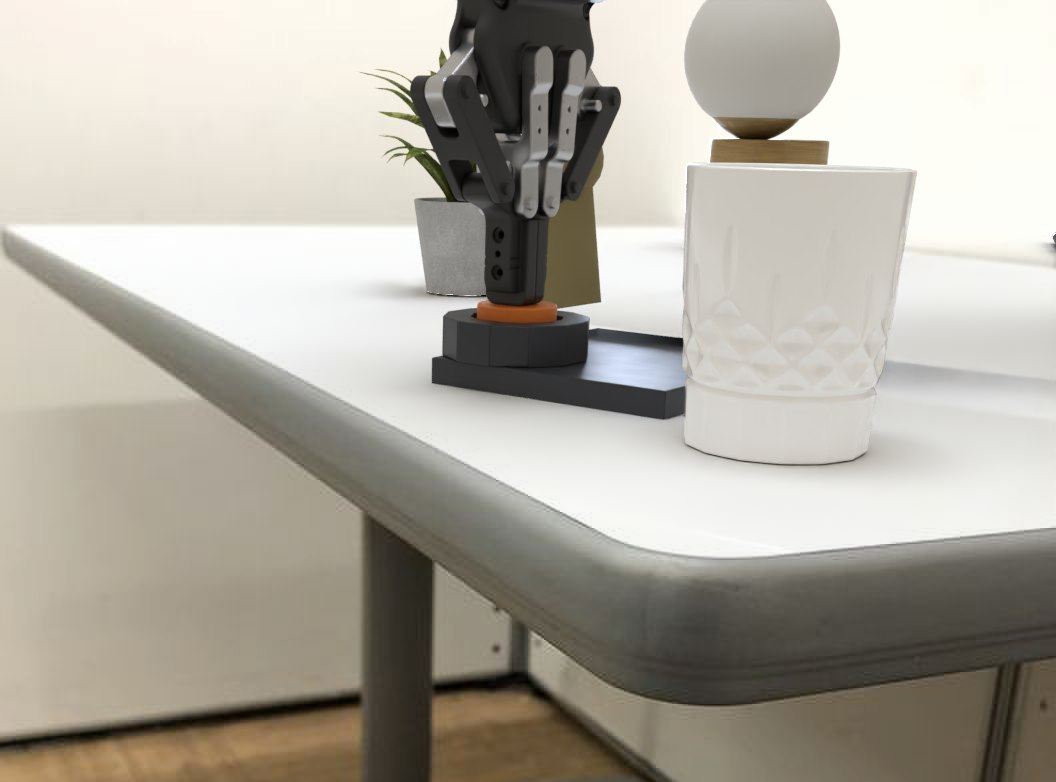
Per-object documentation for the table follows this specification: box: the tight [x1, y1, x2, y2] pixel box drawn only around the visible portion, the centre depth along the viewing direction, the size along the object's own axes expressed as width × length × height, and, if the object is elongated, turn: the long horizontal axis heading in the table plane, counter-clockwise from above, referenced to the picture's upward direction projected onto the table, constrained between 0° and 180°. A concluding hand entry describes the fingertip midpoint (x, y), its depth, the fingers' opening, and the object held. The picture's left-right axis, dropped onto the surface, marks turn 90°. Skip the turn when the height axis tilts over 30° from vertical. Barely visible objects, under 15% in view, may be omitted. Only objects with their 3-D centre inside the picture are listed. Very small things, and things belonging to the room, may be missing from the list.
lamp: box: [683, 0, 841, 165], centre depth 133 cm, size 15×14×25 cm
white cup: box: [681, 162, 918, 465], centre depth 51 cm, size 8×8×10 cm
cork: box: [542, 147, 605, 310], centre depth 86 cm, size 6×6×11 cm
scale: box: [431, 307, 687, 421], centre depth 65 cm, size 14×13×3 cm
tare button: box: [476, 299, 558, 323], centre depth 64 cm, size 4×4×2 cm
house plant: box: [355, 47, 496, 295], centre depth 97 cm, size 14×14×16 cm
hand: (515, 302), depth 63 cm, fingers closed
